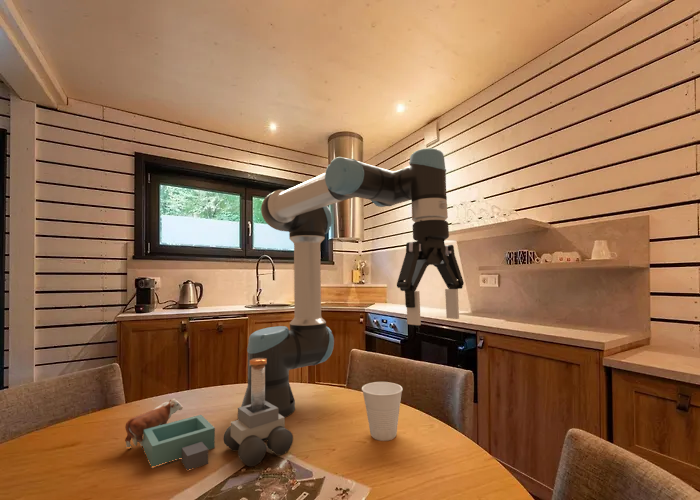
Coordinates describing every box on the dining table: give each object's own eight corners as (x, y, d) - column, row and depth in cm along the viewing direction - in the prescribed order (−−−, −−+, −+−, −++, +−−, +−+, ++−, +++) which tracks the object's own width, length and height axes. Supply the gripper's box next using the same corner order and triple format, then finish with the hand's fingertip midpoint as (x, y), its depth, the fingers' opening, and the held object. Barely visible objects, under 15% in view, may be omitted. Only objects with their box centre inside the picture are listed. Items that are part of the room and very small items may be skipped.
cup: (403, 447, 73) (401, 395, 74) (359, 444, 75) (358, 393, 76) (405, 427, 82) (403, 382, 84) (366, 425, 84) (365, 381, 86)
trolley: (242, 470, 65) (243, 422, 66) (223, 450, 73) (223, 407, 74) (292, 450, 73) (292, 407, 73) (270, 433, 81) (270, 395, 82)
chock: (181, 463, 69) (181, 447, 69) (201, 456, 71) (201, 441, 72) (187, 472, 65) (187, 456, 66) (208, 464, 68) (208, 449, 68)
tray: (142, 449, 74) (143, 429, 75) (200, 432, 82) (201, 414, 83) (151, 468, 66) (152, 446, 67) (214, 447, 74) (214, 427, 75)
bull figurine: (184, 430, 84) (185, 397, 85) (129, 455, 72) (130, 416, 73) (173, 427, 86) (174, 395, 87) (117, 451, 74) (119, 413, 75)
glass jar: (246, 419, 74) (246, 359, 75) (262, 414, 76) (262, 357, 78) (253, 424, 71) (253, 362, 72) (269, 419, 73) (269, 359, 75)
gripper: (405, 211, 60) (410, 329, 58) (476, 224, 76) (481, 317, 74) (376, 218, 66) (380, 325, 64) (447, 229, 82) (452, 315, 80)
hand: (434, 321), depth 69 cm, fingers open, 13 cm apart
